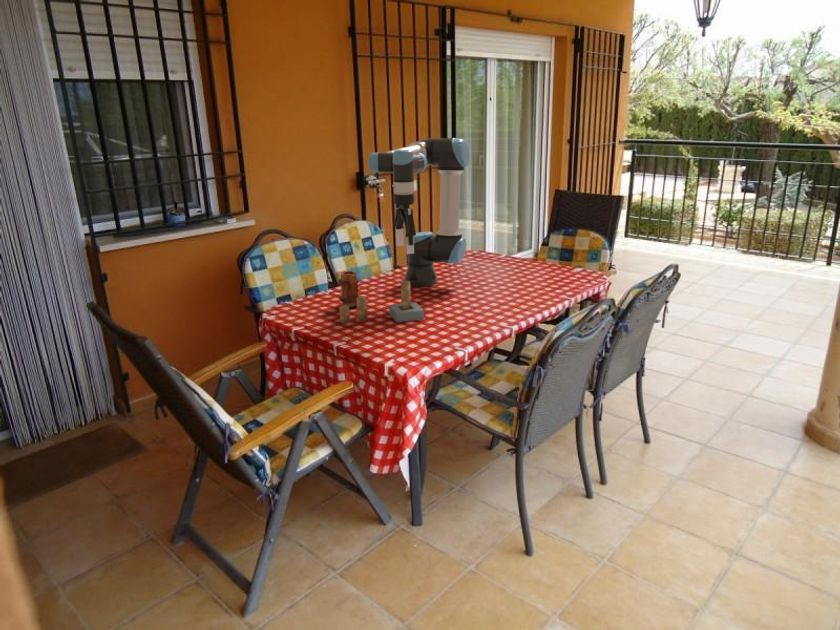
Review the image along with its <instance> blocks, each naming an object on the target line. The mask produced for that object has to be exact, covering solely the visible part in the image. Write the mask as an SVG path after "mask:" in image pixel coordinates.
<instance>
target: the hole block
mask: <svg viewBox="0 0 840 630" xmlns="http://www.w3.org/2000/svg"><path fill="white" fill-rule="evenodd" d="M388 313H389V315H390V316H391V317H392V319H393V320H394V321H395V322H396V323H402V322H403V321H404V322H410V321H411V322H412V321H420V320H425V311H424V308H422V307H421V306H420V305H419V304H418V303H417V302H411V309H408V310H401V303H395V304H389V305H388Z"/></svg>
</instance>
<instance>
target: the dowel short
mask: <svg viewBox="0 0 840 630" xmlns="http://www.w3.org/2000/svg"><path fill="white" fill-rule="evenodd" d="M339 320H340V321H339V322H340V323H342V324H348V323H351V322H350V321H351V318H350V307H349V306H347V305H343V304H342V305H340V306H339Z"/></svg>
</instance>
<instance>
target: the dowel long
mask: <svg viewBox="0 0 840 630" xmlns="http://www.w3.org/2000/svg"><path fill="white" fill-rule="evenodd" d="M400 299H401V302H400V304H401V310H408V309H411V303H412V302H411V301H412V300H411V286H410V281H404V280H401V281H400Z"/></svg>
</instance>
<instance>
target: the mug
mask: <svg viewBox="0 0 840 630" xmlns="http://www.w3.org/2000/svg"><path fill="white" fill-rule="evenodd" d="M338 283H339V284H340V287H341V288H340V289H341V295H340V296H339V297H338V299H339V300H340V302H341V303H342V306H343V305H347V306H349V308H353V307H354V308H355V307H357V297H358V296H360V295H359V283H360V280H359V279H358V278H357V272H355V271H352V270H345V271H341V273H340V278H339V280H338Z"/></svg>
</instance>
